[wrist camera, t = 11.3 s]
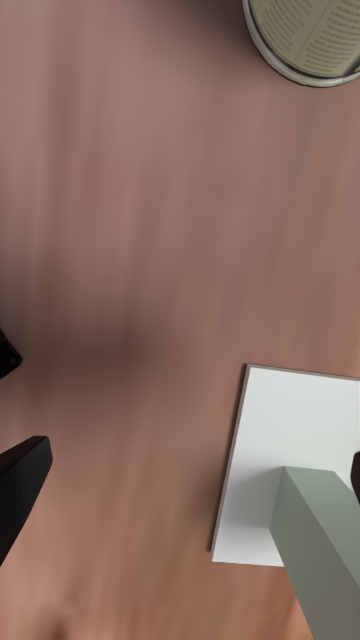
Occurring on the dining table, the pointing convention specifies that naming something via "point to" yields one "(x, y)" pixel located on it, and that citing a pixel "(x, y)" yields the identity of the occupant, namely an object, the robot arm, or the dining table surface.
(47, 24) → the dining table surface
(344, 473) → the white plate with rail
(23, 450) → the robot arm
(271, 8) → the coffee can
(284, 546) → the green carton
